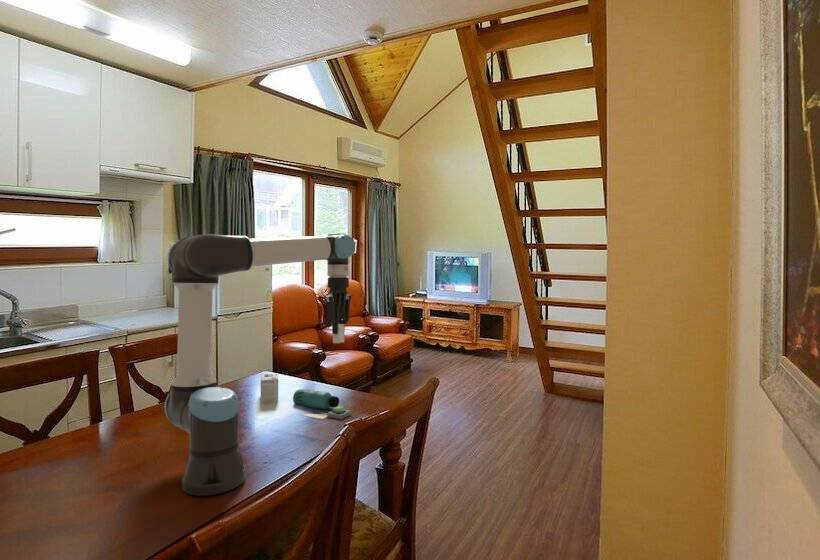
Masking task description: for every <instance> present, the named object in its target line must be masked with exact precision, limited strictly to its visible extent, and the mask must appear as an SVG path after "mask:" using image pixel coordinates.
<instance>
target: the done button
mask: <svg viewBox="0 0 820 560" xmlns="http://www.w3.org/2000/svg"><path fill="white" fill-rule="evenodd" d="M333 410H334V412H335V413H343V412H344V410H345V407H344V406H342V405H341V406H339V405H338V406H337V407H333Z"/></svg>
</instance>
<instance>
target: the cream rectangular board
mask: <svg viewBox="0 0 820 560" xmlns="http://www.w3.org/2000/svg"><path fill="white" fill-rule="evenodd" d="M302 416H303V417H307V418H310V419H311V418H312V419H317V420H325V419H326V418H328V417H327V414H325V413H324V414H313V413H307V414H302Z"/></svg>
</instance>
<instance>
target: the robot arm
mask: <svg viewBox="0 0 820 560" xmlns="http://www.w3.org/2000/svg"><path fill="white" fill-rule="evenodd" d="M355 244H356V243H355V241H354V239H353V238H352V236H351V235H349V234H346V233H344V232H343V233H340V232H334V233H332V232H330V233H328V234H327V235H314V236H294V237H293V236H292V237H271V238H270V237H268V238H266V237H264V238H249V237H248V236H246V235H228V234H227V235H226V234H225V235H224V234H215V233H214V234H213V233H206V234H198V235H188V236H185V237H182V238H180V239H179V240H177V241H175V243H173V244H172V245H171V247H170V248H169V251H168V253H167V264H168V267H169V269H170V270H171V271H172V284H173V285H174V286H175V288H176V289H177V290H178V309H177V310H178V312H177V314H178V317H177V358H176V359H177V361H176V362H177V363H176V366H177V367H176V377H175V378H174V379H173V380H171V382H170V391H169V393H168V394H167V396H166V397H165V398H166V399H165V401H164V413H165V416H166V418H167V419H168V420H169V422H170V423H171V424H172V425H173V426H175V427H176V428H178V429H181V430H183V431H184V432H186V433H188V434H189V457H188V461H187V464H186V468H185V472H184V475H183V476H182V478H181V479H182V481H181V482H182V483H181V484H182V485H181V486H182V487H181V488H182V491H183V492H185V493H186V494H188V495H192V496H212V495H213V496H214V495H218V494H222V493H225V492H226V493H227V492H229V491H231V490H234V489H236V488H238V487H240V486H241V485H242V484H243V483H244V482H245V480H246V479H247V471H246V470H247V468H246V465H245V463H244V460H243V458H242V455H241V452H240V449H239V448H240V447H239V409H240V404H239V399H238V398H239V397H238V394H237V393H236V392H235V391H234V390H233V389H230V388H227V387H219V386H217V378H216V377H214V375H212V368H211V367H212V336H213V335H212V332H213V331H212V330H213V329H212V325H213V323H212V322H213V291H214V290H215V288H216V287H218V285H219V277H220V276H224V275H229V274H234V273H238V272H247V271H249V270H251V269H252V267H260V266H271V265H282V264H292V263H294V264H295V263H303V262H305V263H306V262H313V261H315V262H316V261H324V260H325V261H327V273H326V275H327V276H328V277H327V288H329V293H328V295H325V296H324V301H325V306H326V314H327V316H326V317H327V323H328V324H329V325H331V326H332V328H331V329H332V331H331V332H332V343H333V344H341V343H345V332H346V330H345V329H346V328H345V327H346V325H348V322H349V320H350V307H351V300H352V295H351V294H348V290H347V289H348V288H349V286H350V278H349V277H348V276H349V274H350V273H349V270H350V269H349V263H350V261H349V258H351V257H352V256H353V255H354V253H355V250H356V245H355Z"/></svg>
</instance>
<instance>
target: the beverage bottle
mask: <svg viewBox="0 0 820 560" xmlns="http://www.w3.org/2000/svg"><path fill="white" fill-rule="evenodd" d="M292 402H293V404H294V405H297V406H301V407H302V406H303V407H306V408H307V407H308V408H314V409H319V410H321V409H322V410H325V411H326V410H328V409H330V408H333V409H334V408H335V407H338V406H339V404H340V399H339V397H338V396H335V395H332V394H331V393H330V392H326V391H320V390H310V389H300V388H299V389H296V391H294V394H293V397H292Z"/></svg>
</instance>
